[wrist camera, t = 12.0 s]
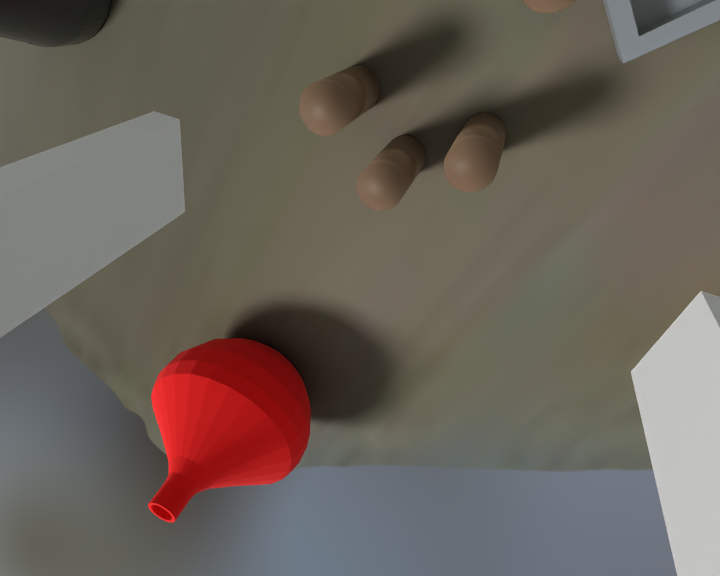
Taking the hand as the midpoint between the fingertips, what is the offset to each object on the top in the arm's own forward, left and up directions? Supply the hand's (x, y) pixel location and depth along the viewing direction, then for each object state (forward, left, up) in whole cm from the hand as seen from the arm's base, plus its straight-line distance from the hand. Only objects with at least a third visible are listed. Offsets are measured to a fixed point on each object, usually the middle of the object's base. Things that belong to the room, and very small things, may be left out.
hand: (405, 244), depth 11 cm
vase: (+19, -37, -25) cm, 48 cm away
